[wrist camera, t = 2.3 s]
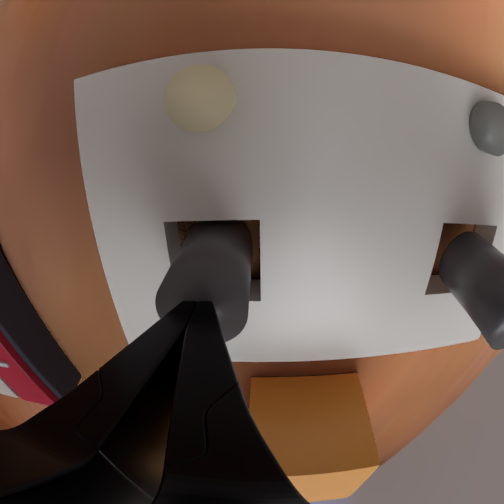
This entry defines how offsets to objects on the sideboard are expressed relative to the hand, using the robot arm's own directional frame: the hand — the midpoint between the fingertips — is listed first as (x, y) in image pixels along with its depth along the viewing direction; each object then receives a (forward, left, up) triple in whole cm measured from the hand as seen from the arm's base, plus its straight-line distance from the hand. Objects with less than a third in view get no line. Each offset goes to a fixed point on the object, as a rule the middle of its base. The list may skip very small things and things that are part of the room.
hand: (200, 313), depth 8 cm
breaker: (0, -10, -3) cm, 10 cm away
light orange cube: (-11, -4, -4) cm, 12 cm away
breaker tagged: (0, 0, -4) cm, 4 cm away
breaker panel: (+1, -5, -4) cm, 6 cm away
